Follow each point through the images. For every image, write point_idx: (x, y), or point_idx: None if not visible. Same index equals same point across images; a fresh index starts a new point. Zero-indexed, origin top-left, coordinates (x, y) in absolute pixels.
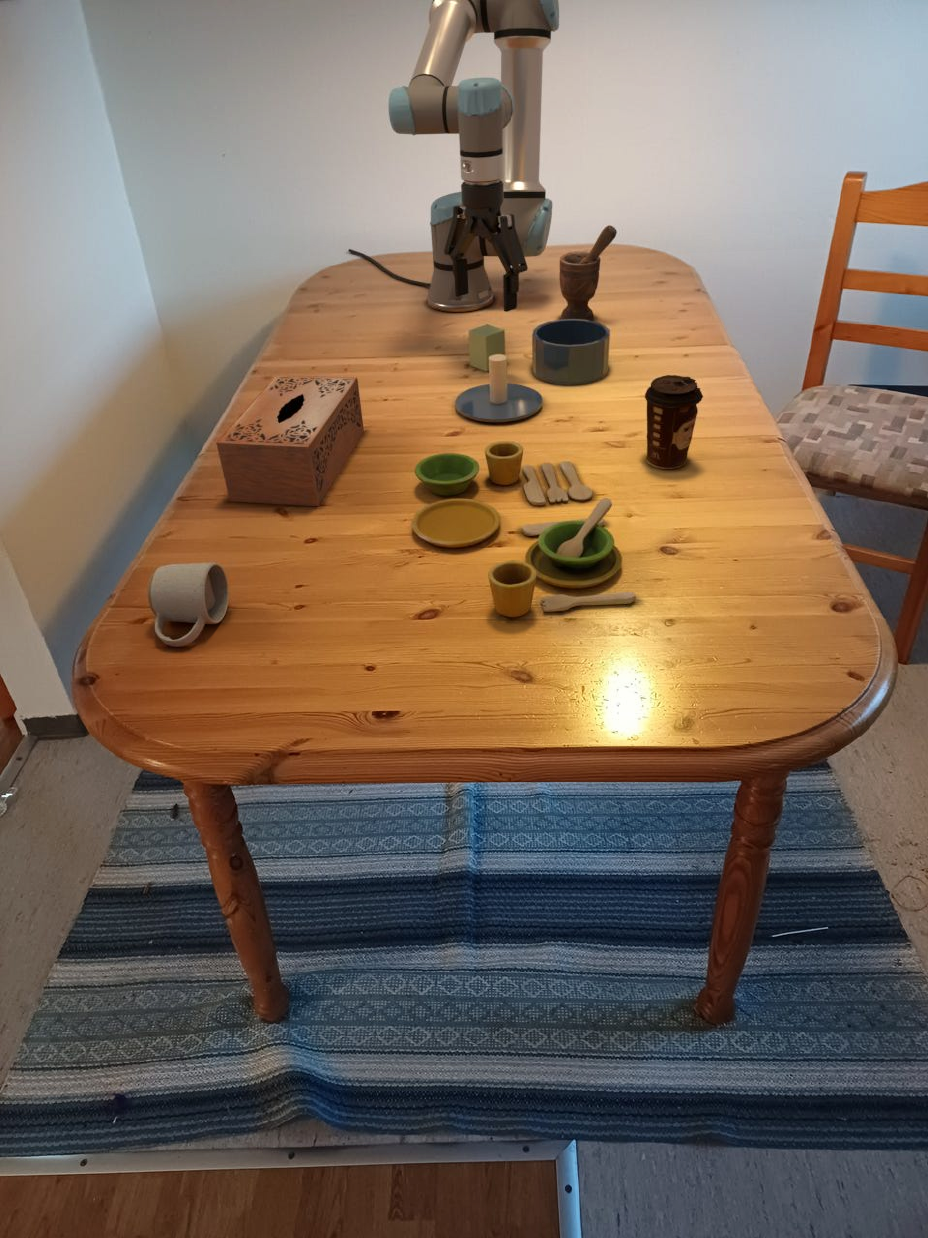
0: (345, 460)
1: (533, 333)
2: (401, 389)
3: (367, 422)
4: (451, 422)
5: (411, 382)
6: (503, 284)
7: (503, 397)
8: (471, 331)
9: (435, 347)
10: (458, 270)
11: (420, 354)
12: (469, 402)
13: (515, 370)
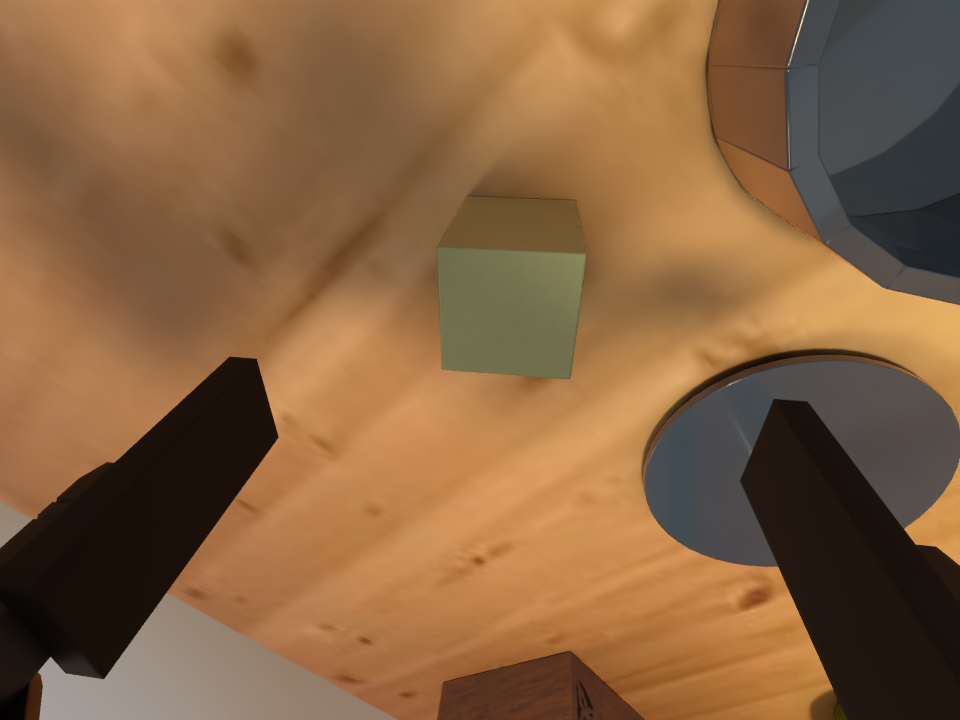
0: (633, 712)
1: (824, 227)
2: (455, 513)
3: (540, 628)
4: (710, 568)
5: (437, 476)
6: (829, 676)
7: None
8: (460, 368)
9: (225, 251)
10: (159, 579)
11: (259, 329)
12: (711, 523)
13: (657, 219)
